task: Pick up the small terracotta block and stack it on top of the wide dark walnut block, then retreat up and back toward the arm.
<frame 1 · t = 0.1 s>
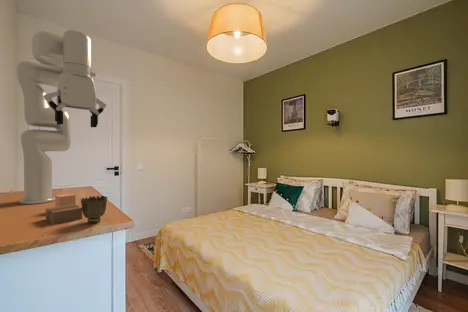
hand: (77, 125, 76), 31 cm above the dresser top, tool pointing down, fingers open, 9 cm apart
terracotta block: (65, 210, 89), on the dresser top
cup: (94, 222, 76), on the dresser top
walnut block: (64, 219, 79), on the dresser top
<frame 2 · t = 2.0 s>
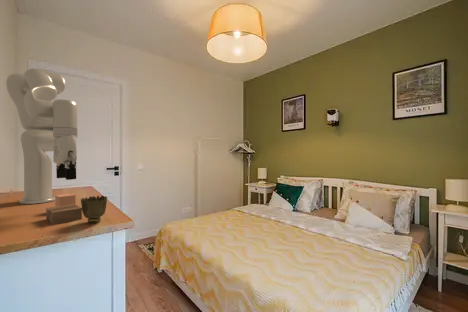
hand: (66, 178, 89), 12 cm above the dresser top, tool pointing down, fingers open, 9 cm apart
nothing on the dresser top moved.
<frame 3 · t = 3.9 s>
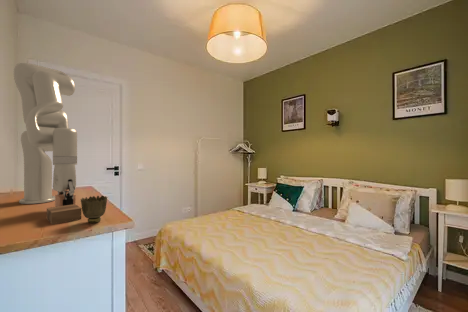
hand: (65, 208, 89), 1 cm above the dresser top, tool pointing down, fingers closed on terracotta block, 5 cm apart
terracotta block: (65, 210, 89), on the dresser top, touching gripper
everything else where it was.
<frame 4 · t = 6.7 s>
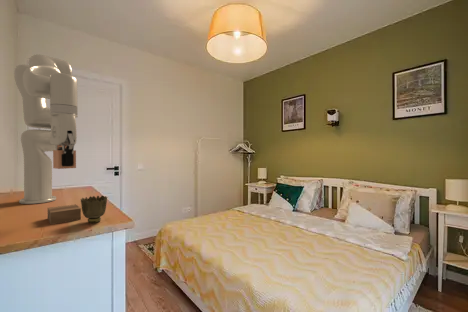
hand: (64, 165, 80), 18 cm above the dresser top, tool pointing down, fingers closed on terracotta block, 5 cm apart
terracotta block: (64, 168, 80), point 17 cm above the dresser top, touching gripper
everything else where it was.
when the fingers open (6 cm above the dresser top, at t = 9.7 s): terracotta block drops 2 cm, resting on walnut block.
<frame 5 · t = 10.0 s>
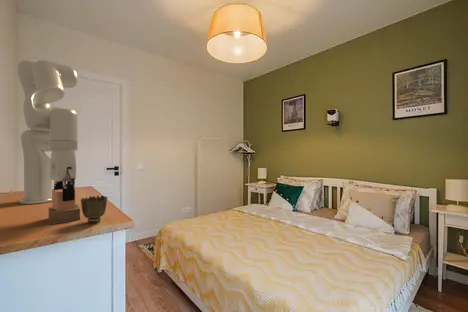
hand: (64, 198, 79), 7 cm above the dresser top, tool pointing down, fingers open, 7 cm apart
terracotta block: (63, 207, 79), point 4 cm above the dresser top, touching walnut block
walnut block: (64, 219, 79), on the dresser top, touching terracotta block
everything else where it was.
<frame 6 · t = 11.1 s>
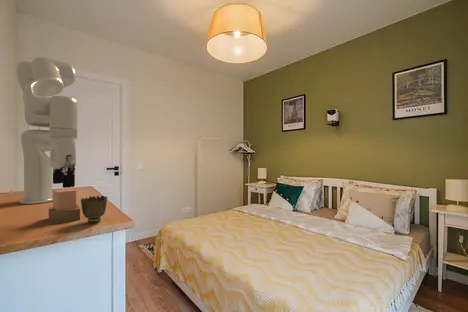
hand: (63, 185, 79), 11 cm above the dresser top, tool pointing down, fingers open, 9 cm apart
nothing on the dresser top moved.
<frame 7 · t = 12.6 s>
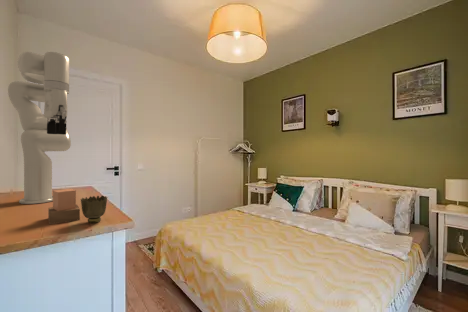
hand: (56, 134, 88), 29 cm above the dresser top, tool pointing down, fingers open, 9 cm apart
terracotta block: (64, 208, 79), point 4 cm above the dresser top
walnut block: (64, 220, 79), on the dresser top
everything else where it was.
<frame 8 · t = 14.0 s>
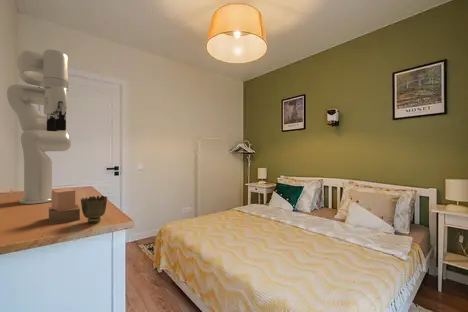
hand: (56, 130, 89), 30 cm above the dresser top, tool pointing down, fingers open, 9 cm apart
terracotta block: (63, 208, 79), point 4 cm above the dresser top, touching walnut block
walnut block: (64, 220, 79), on the dresser top, touching terracotta block
everything else where it was.
at the end: terracotta block 0.2 cm off-centre on the walnut block, point 4.0 cm above the walnut block's base; terracotta block tilted 0°; the gripper is holding nothing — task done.
